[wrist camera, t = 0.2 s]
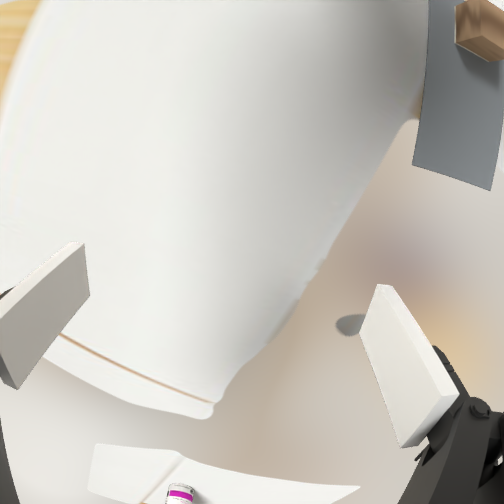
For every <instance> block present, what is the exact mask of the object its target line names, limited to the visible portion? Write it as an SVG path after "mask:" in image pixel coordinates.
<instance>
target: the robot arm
mask: <svg viewBox="0 0 504 504" xmlns="http://www.w3.org/2000/svg"><path fill="white" fill-rule="evenodd" d="M89 296H90V291H89V284H88V276H87V267H86V257H85V246H84V243H77V242H70V243H68V244H67V245H66V246H64V247H63V248H62V249H61V250H59V251H58V252H57V253H55V254H54V255H53V256H52V257H50V258H49V259H48V260H47V261H45V262H44V263H43V264H42V265H40V266H39V267H38V268H37V269H35V270H34V271H33V272H32V273H31V274H29V275H28V276H27V277H26V278H25V279H23V280H22V281H21V282H20V283H19V284H18V285H16V286H15V287H13V288H11V289H9V290H7V291H5V292H4V293H3V294H2V295H0V377H1V379H2V380H3V383H4V384H7V385H9V386H11V387H12V388H14V389H16V390H18V389H19V388H20V386H21V385H22V384H23V382H24V381H25V379H26V378H27V376H28V375H29V374H30V372H31V371H32V369H33V368H34V366H35V365H36V364H37V362H38V361H39V360H40V358H41V357H42V356H43V354H44V353H45V352H46V350H47V349H48V348H49V346H50V345H51V344H52V342H53V341H54V340H55V338H56V337H57V336H58V335H59V333H60V332H61V331H62V330H63V328H64V327H65V326H66V324H67V323H68V322H69V321H70V319H71V318H72V317H73V316H74V315H75V313H76V312H77V311H78V310H79V308H80V307H81V306H82V305H83V304H84V302H85V301H86V300H87V299H88V298H89ZM359 335H360V338H361V340H362V343H363V345H364V348H365V350H366V353H367V355H368V358H369V360H370V363H371V366H372V369H373V371H374V374H375V376H376V379H377V382H378V385H379V388H380V390H381V393H382V396H383V399H384V402H385V404H386V407H387V410H388V413H389V416H390V419H391V422H392V425H393V428H394V431H395V434H396V437H397V440H398V443H399V447H400V448H407V447H413V446H418V445H419V444H420V443H421V442H422V441H423V439H424V438H425V437H426V436H427V437H428V440H429V444H428V445H427V446H426V448H425V449H424V450H423V451H422V452H421V453H420V454H419V455H418V456H417V457H416V458H415V461H417V460H418V459H419V458H420V457H421V458H420V461H419V463H418V465H417V467H416V469H415V471H414V473H413V475H412V477H411V480H410V481H409V483H408V485H407V487H406V489H405V491H404V493H403V495H402V497H401V499H400V500H399V502H398V504H504V412H503V413H501V412H493V411H491V409H490V407H489V406H488V405H487V403H486V402H484V401H483V400H481V399H479V398H476V397H470V396H469V394H468V392H467V391H466V389H465V387H464V385H463V384H462V382H461V380H460V379H459V377H458V375H457V374H456V372H454V369H453V367H452V365H450V362H449V361H448V359H447V357H446V356H445V354H444V353H443V352H442V351H441V350H439V348H437V347H436V346H431V344H430V343H429V341H428V339H427V338H426V336H425V335H424V333H423V332H422V330H421V328H420V327H419V325H418V324H417V322H416V321H415V319H414V318H413V316H412V315H411V313H410V312H409V310H408V309H407V307H406V305H405V304H404V303H403V301H402V300H401V298H400V297H399V295H398V294H397V292H396V291H395V289H394V288H393V287H392V286H390V285H382V284H377V286H376V289H375V292H374V295H373V298H372V300H371V303H370V306H369V309H368V312H367V314H366V317H365V319H364V322H363V324H362V327H361V330H360V332H359ZM501 456H503V462H502V463H501V464H500V465H498V459H499V458H500V457H501ZM0 504H20V503H19V499H18V496H17V493H16V490H15V486H14V482H13V479H12V475H11V471H10V467H9V463H8V459H7V454H6V449H5V444H4V439H3V433H2V427H1V420H0Z"/></svg>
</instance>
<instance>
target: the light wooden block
mask: <svg viewBox="0 0 504 504" xmlns="http://www.w3.org/2000/svg"><path fill="white" fill-rule="evenodd" d="M454 13H455V39H454V43H455V44H457V45H459V46H461V47H463V48H465V49H466V50H468V51H470V52H472V53H474V54H475V55H477V56H479V57H481V58H482V59H484V60H486V61H487V62H491V61H499V60H504V11H502V10H501V9H499V8H498V7H497V6H495V5H494V4H492V3H491V2H489V1H488V0H468V1H465V2H463V3H461V4H459V5H456V6H454Z"/></svg>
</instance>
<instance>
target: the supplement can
mask: <svg viewBox="0 0 504 504" xmlns="http://www.w3.org/2000/svg"><path fill="white" fill-rule="evenodd" d="M193 493H194V490H193V489H192V488H191V487H190V486H187V485H184V484H180V483H173V484H171V485H169V489H168V493H167V498H166V503H165V504H192V500H193Z"/></svg>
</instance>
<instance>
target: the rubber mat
mask: <svg viewBox="0 0 504 504" xmlns="http://www.w3.org/2000/svg"><path fill="white" fill-rule="evenodd" d="M463 2H465V1H464V0H429V27H428V49H427V63H426V74H425V84H424V92H423V100H422V108H421V115H420V122H419V128H418V134H417V140H416V145H415V151H414V156H413V161H412V165H414V166H417V167H420V168H424V169H427V170H430V171H434V172H437V173H440V174H443V175H446V176H449V177H452V178H455V179H458V180H461V181H464V182H467V183H470V184H473V185H475V186H478V187H481V188H483V189H486V190H488V191H490V190H491V186H492V182H493V176H494V172H495V167H496V162H497V157H498V151H499V145H500V139H501V132H502V124H503V115H504V60H499V61H491V62H487V61H486V60H484V59H482V58H481V57H479V56H477V55H475V54H474V53H472V52H470V51H468V50H466V49H465V48H463V47H461V46H459V45H457V44H455V43H454V39H455V13H454V6H456V5H459V4H461V3H463Z"/></svg>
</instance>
